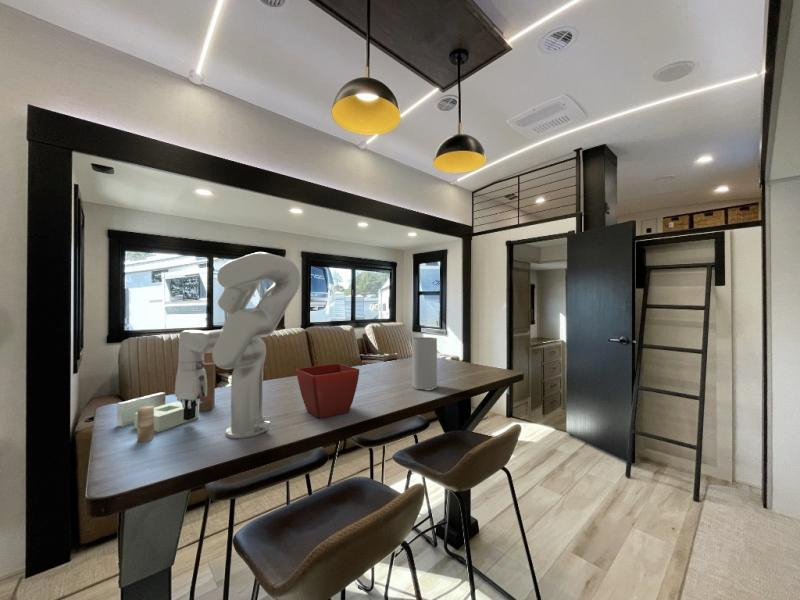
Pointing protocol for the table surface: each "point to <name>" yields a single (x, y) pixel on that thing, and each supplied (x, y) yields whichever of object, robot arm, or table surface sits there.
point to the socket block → (167, 416)
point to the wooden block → (209, 388)
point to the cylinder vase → (424, 362)
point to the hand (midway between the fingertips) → (189, 418)
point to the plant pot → (328, 388)
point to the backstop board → (136, 407)
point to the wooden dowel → (145, 424)
